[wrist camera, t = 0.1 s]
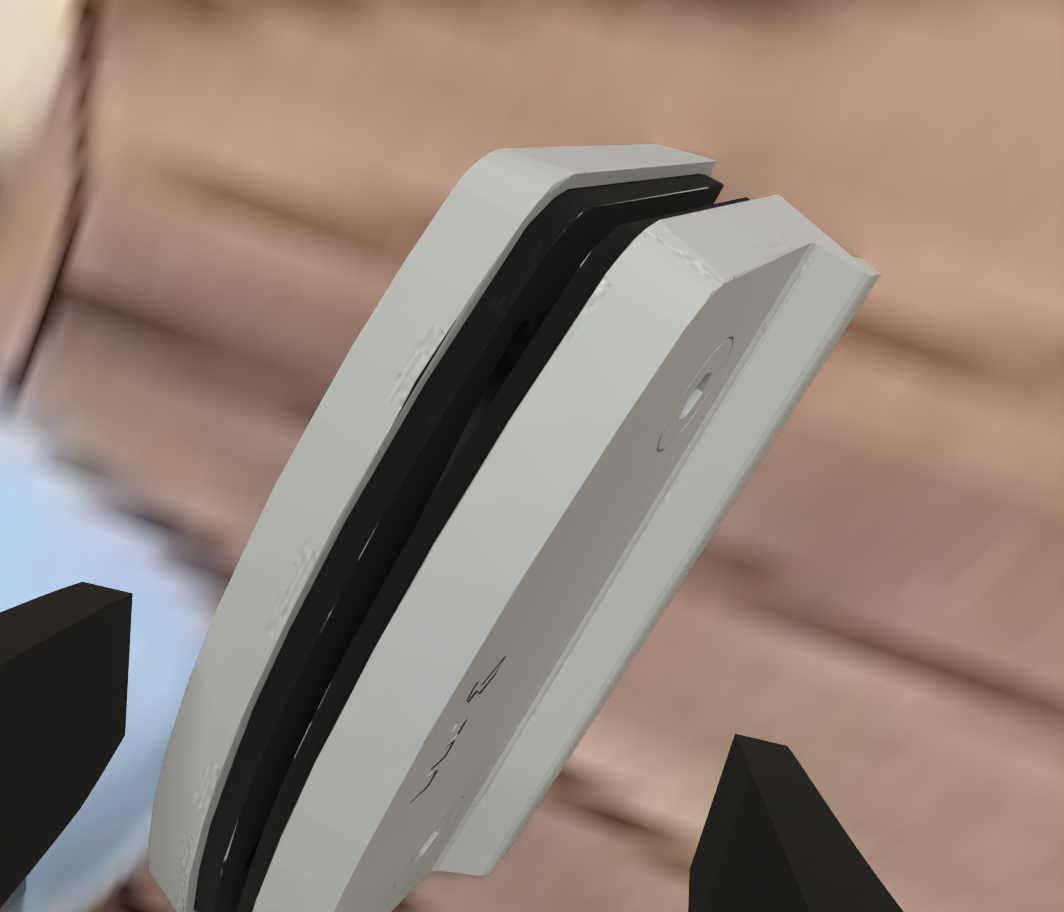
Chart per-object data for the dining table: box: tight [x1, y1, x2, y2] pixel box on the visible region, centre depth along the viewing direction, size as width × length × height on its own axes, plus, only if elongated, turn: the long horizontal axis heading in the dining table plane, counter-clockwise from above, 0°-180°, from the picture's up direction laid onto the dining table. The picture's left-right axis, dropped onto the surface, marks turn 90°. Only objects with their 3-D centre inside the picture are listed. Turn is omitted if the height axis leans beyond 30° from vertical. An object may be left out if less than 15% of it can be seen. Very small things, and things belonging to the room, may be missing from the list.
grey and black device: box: [149, 144, 881, 912], centre depth 18 cm, size 17×5×10 cm, turn 153°
